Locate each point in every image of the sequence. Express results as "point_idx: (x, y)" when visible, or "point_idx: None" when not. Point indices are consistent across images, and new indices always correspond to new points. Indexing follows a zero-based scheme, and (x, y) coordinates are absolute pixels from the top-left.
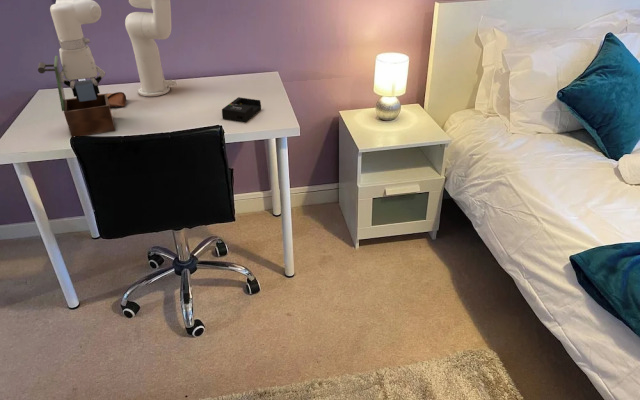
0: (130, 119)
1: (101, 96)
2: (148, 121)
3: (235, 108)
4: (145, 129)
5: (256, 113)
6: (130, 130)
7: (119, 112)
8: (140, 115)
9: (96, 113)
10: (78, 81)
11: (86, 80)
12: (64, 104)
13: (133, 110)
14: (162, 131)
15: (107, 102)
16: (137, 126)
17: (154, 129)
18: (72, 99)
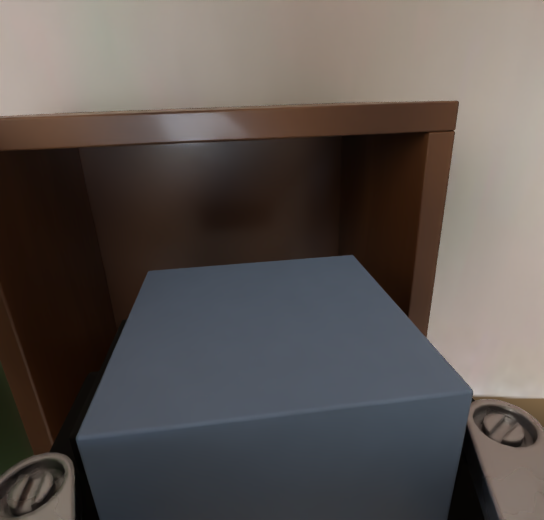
0: (451, 186)
1: (384, 131)
2: (530, 255)
3: None
4: (483, 349)
5: None
6: None
7: (413, 6)
8: (523, 139)
9: None
10: (165, 453)
11: (351, 433)
12: (8, 422)
13: (513, 8)
14: (540, 389)
15: None
16: (459, 302)
17: (519, 360)
18: (37, 149)
